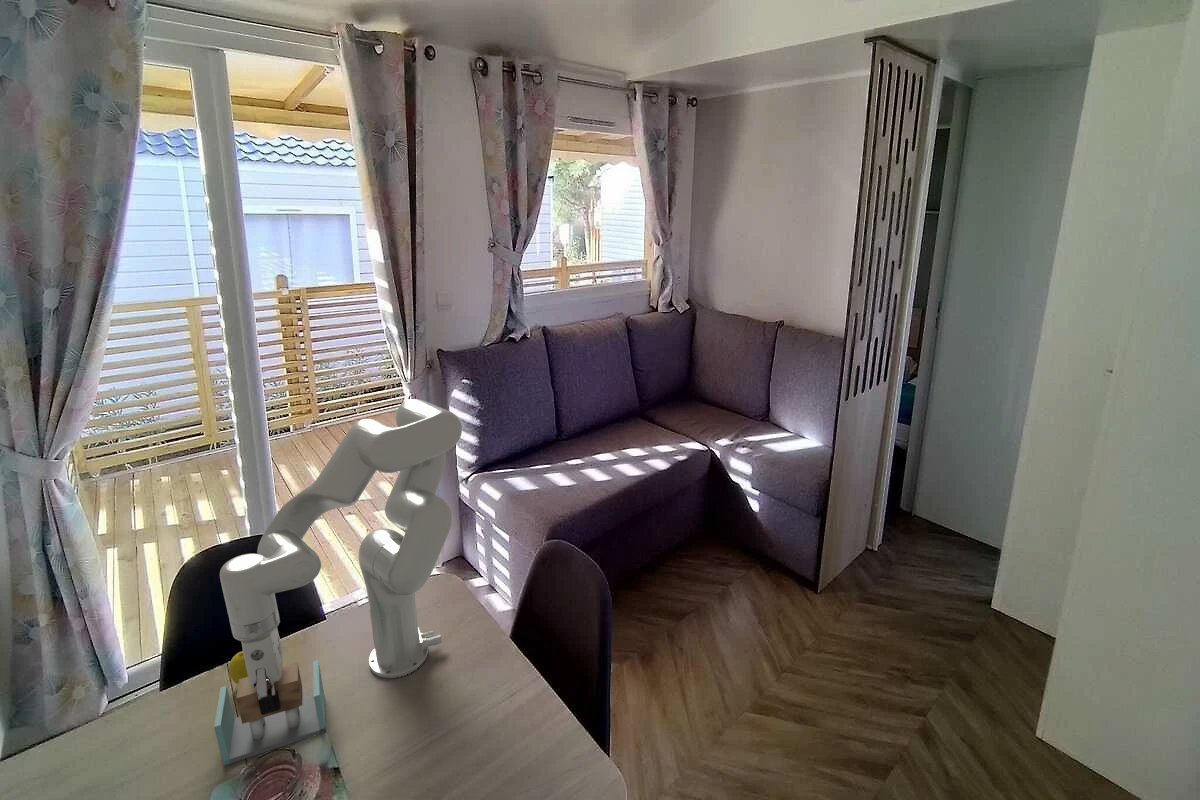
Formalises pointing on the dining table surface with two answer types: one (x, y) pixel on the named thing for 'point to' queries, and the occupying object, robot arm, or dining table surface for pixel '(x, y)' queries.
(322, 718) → the peg frame
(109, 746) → the dining table surface
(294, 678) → the brown wooden block
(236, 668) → the lemon
